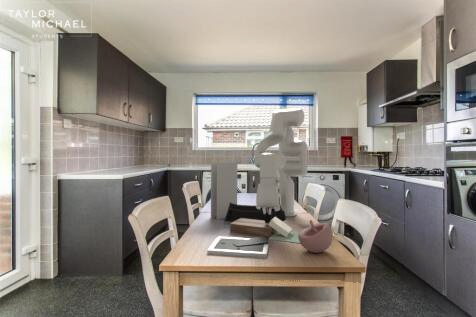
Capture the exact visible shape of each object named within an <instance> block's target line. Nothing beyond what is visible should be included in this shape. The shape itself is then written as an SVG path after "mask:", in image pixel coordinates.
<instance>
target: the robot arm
mask: <svg viewBox="0 0 476 317" xmlns="http://www.w3.org/2000/svg"><path fill="white" fill-rule="evenodd" d="M271 115H272V116H271V120H270V121H271V122H270V125H269V126H270V127H269V131H268V134H267V135H266V136H264V137H263V138H262V139H261V140H260V141H259V142H258V144H257V146H256V149H255V154H254V161H253V162H254V163H253V164H254V165H255V167H256V168H258V169H259V183H258V185H257V189H256V196H255V197H256V199H255V203H256V205H255V206H256V208H257V209H260V210H261V211H262V212H263V214H264V221H265V223H267V224H269V222H270V221H271V220H272V213H273V212H274V211H279V210H280V204H281V206H282V208H283V210H284V213H285V216H286V217H294V216H297V212H296V211H295V182H294V181H293V179H292V178H291V177H305V176H307V173H308V144H307V142H306V141H305V140H301V139H299V140H298V139H297V140H295V132H294V129H293V128H294V127H295V128H297V127H300V126H302V125H303V124H304V121H305V112H304V110H303V109H302V108H290V109H289V108H284V109H283V108H282V109H276V110H274V111H273V112H272V114H271ZM276 145H278V152H265V151H266V150H268V149H269V148H271V147H273V146H276ZM287 158H290V159H287ZM293 158H298V159H293ZM267 208H269V212H268V210H267Z"/></svg>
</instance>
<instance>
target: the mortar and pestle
mask: <svg viewBox="0 0 476 317" xmlns="http://www.w3.org/2000/svg"><path fill="white" fill-rule="evenodd" d="M309 224H310V225H309V226H308V227H306V228H304V229H302V230H301V231H299V232H300V233H299V234H298V238H299V241H300V243H301V244H300V245H301V246H302V247H303V248H304V249H305V250H306V251H308V252H310V253H314V254H315V253H316V254H318V253H323V252H325V251H327V249H329V248H330V247H331V245H332V242H333V239H334V238H333V231H332V229H331V228H332V227H330V225H329V224H328V223H327V222H318V223H315V224H314V222H313V220H312V219H310V220H309Z"/></svg>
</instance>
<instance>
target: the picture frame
mask: <svg viewBox="0 0 476 317" xmlns="http://www.w3.org/2000/svg"><path fill="white" fill-rule="evenodd" d="M269 238H270V237H269ZM269 238H265V237H258V236H254V237H252V238H251V237H250V238H248V237H247V238H245V237H233V236H231V237H229V236H217V237H216V238H215V240H214V241H213V242H212V243H211V245H210V246H209V247H208V248H207V252H206V254H207V255H217V256H218V255H219V256H220V255H221V256H232V257H245V258H247V257H248V258H260V259H261V258H262V259H268V258H267V257H268V251H269V247H270V239H269Z"/></svg>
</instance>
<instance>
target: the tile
mask: <svg viewBox="0 0 476 317" xmlns="http://www.w3.org/2000/svg"><path fill="white" fill-rule="evenodd" d="M268 225H269V226H271V227H272V228H273V229H275V230H276V232H277V231H278V232H279V233H281V234H282V235H283V236H285V237H287V236H288V234H289V233H290V232H291V231H293V227H292V226H289V225H288V224H286V222H285V221H281V220H279V219H278V218H277V217H274V218H273V219H272V220H271V221H270V222H269V224H268Z"/></svg>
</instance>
